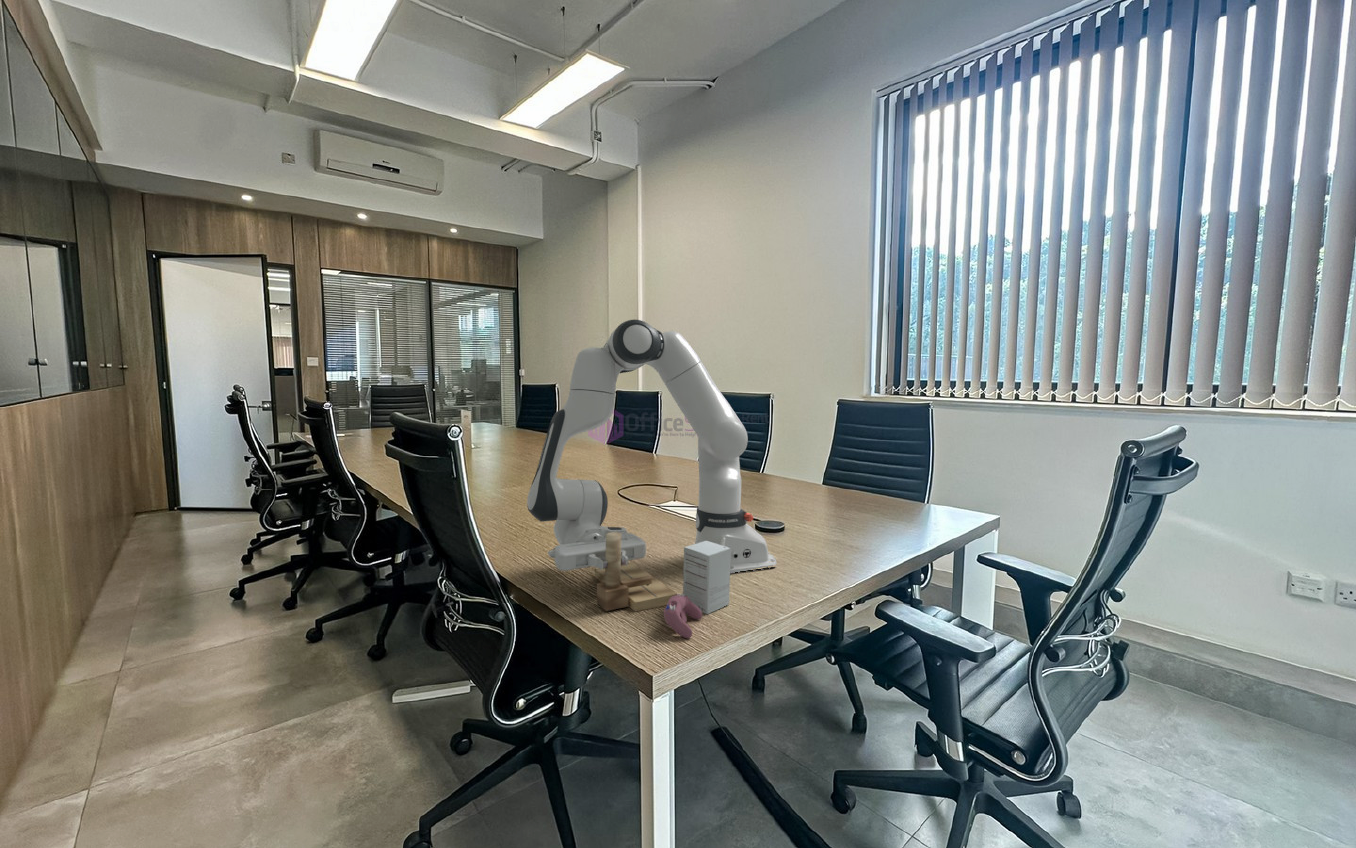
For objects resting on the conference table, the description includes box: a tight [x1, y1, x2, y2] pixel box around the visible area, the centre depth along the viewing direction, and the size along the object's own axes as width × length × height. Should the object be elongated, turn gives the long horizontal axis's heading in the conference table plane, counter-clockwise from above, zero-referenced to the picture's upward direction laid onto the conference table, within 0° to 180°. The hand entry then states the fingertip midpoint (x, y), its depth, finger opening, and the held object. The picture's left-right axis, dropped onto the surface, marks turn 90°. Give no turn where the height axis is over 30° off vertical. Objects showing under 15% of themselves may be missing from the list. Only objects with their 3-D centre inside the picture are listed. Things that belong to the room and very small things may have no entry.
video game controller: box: [663, 592, 703, 639], centre depth 106 cm, size 10×5×7 cm, turn 164°
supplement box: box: [682, 541, 731, 615], centre depth 116 cm, size 7×7×13 cm
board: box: [594, 562, 678, 613], centre depth 124 cm, size 22×10×2 cm, turn 31°
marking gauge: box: [596, 532, 652, 612], centre depth 115 cm, size 11×5×15 cm, turn 121°
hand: (614, 563), depth 112 cm, fingers closed on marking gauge, 3 cm apart
